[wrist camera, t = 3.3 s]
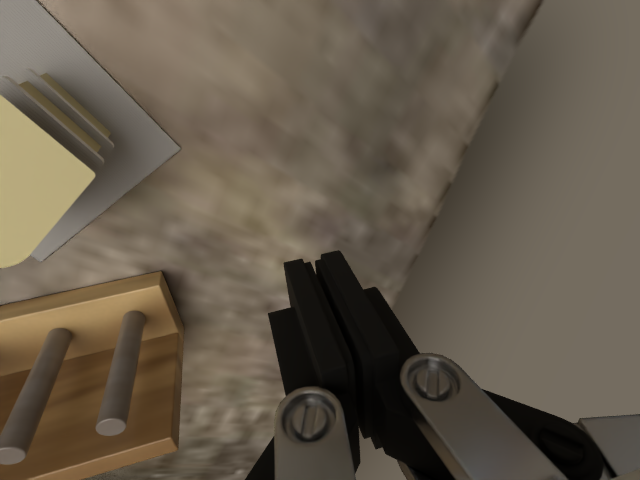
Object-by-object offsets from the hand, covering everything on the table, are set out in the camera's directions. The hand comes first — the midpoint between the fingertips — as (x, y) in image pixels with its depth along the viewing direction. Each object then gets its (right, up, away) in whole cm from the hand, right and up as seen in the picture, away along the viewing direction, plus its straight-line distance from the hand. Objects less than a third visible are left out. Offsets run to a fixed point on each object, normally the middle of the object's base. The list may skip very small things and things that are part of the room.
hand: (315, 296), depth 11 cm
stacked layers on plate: (-13, +6, +6) cm, 16 cm away
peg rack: (-17, -4, +11) cm, 21 cm away
